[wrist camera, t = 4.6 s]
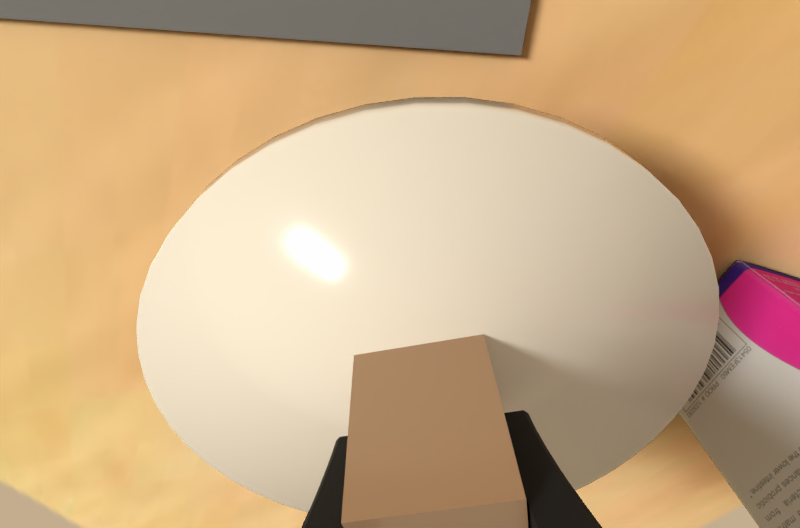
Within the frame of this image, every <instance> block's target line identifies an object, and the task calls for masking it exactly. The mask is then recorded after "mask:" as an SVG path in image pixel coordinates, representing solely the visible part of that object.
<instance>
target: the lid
mask: <svg viewBox="0 0 800 528" xmlns="http://www.w3.org/2000/svg"><path fill="white" fill-rule="evenodd" d="M718 321H719V286H718V282H717V277H716V272H715V268H714V263H713V259H712V256H711V254H710V252H709V249H708V247H707V245H706V243H705V240H704V238H703V236H702V234H701V231H700V229H699V227H698V226H697V225H696V223H695V222H694V220H693V219H692V218H691V216H690V215H689V213H688V212H687V211H686V209H685V208H684V206H683V205H682V204H681V202H680V201H679V199H678V198H676V197H675V196H674V195H673V194H672V193H671V192H670V191H669V190H668V189H667V188H666V187H665V186H664V185H663V184H662V183H661V182H660V181H659V180H658V179H656V178H655V177H654V176H653V175H652V174H651V173H650V172H649V171H648V170H647V169H645V168H644V167H643V166H642V165H641V164H639V163H638V162H637V161H636V160H635V159H633V158H632V157H631V156H629V155H628V154H626V153H625V152H623V151H622V150H620V149H619V148H617V147H616V146H614V145H613V144H611V143H610V142H608V141H607V140H605V139H604V138H602V137H601V136H599V135H598V134H596V133H593V132H591V131H589V130H587V129H585V128H582V127H580V126H578V125H576V124H574V123H571V122H569V121H567V120H565V119H562V118H560V117H558V116H555V115H551V114H548V113H544V112H540V111H537V110H533V109H530V108H526V107H523V106H519V105H516V104H511V103H503V102H496V101H488V100H481V99H473V98H466V97H424V98H408V99H401V100H393V101H386V102H379V103H372V104H365V105H361V106H358V107H354V108H351V109H347V110H344V111H340V112H336V113H333V114H329V115H326V116H322V117H319V118H316V119H314V120H312V121H309V122H307V123H305V124H302V125H300V126H298V127H296V128H293V129H291V130H289V131H286V132H284V133H282V134H280V135H277V136H275V137H273V138H272V139H270V140H269V141H267V142H265V143H264V144H262V145H261V146H259V147H257V148H256V149H254V150H253V151H251V152H249V153H248V154H246V155H245V156H243V157H241V158H240V159H238V160H237V161H236V162H234V163H233V164H232V165H231V166H230V167H229V168H228V169H226V170H225V171H224V172H223V173H222V174H221V175H219V176H218V177H217V178H216V179H215V180H214V181H212V182H211V183H210V184H209V185H208V186H207V187H206V188H205V189H204V190H203V192H202V193H201V194H200V195H199V196H198V198H197V199H196V200H195V201H194V202H193V204H192V205H191V206H190V207H189V208H188V210H187V211H186V212H185V213H184V214H183V216H182V217H181V218H180V220H179V221H178V222H177V223H176V225H175V226H174V227H173V229H172V230H171V231H170V233H169V234H168V236H167V237H166V239H165V241H164V243H163V244H162V246H161V248H160V250H159V251H158V253H157V255H156V257H155V259H154V260H153V262H152V264H151V266H150V269H149V272H148V275H147V278H146V281H145V284H144V287H143V289H142V292H141V295H140V302H139V310H138V317H137V325H136V328H137V343H138V355H139V359H140V363H141V367H142V371H143V375H144V378H145V382H146V384H147V386H148V388H149V391H150V393H151V395H152V397H153V399H154V401H155V404H156V406H157V407H158V409H159V410H160V412H161V413H162V415H163V416H164V418H165V419H166V421H167V422H168V424H169V425H170V427H171V428H172V429H173V430H174V431H175V432H176V434H177V435H178V436H179V437H180V438H181V439H182V440H183V441H184V443H185V444H186V445H187V446H188V447H189V448H190V449H191V450H192V451H194V452H195V453H196V454H197V455H198V456H199V457H201V458H202V459H203V460H204V461H205V462H206V463H207V464H209V465H210V466H212V467H213V468H214V469H216V470H217V471H219V472H220V473H222V474H223V475H225V476H226V477H227V478H229V479H231V480H232V481H234V482H236V483H238V484H240V485H241V486H243V487H245V488H247V489H249V490H250V491H252V492H254V493H257V494H259V495H261V496H264V497H266V498H268V499H270V500H273V501H275V502H277V503H280V504H283V505H286V506H289V507H292V508H295V509H298V510H301V511H304V512H309V510H310V507H311V505H312V503H313V500H314V498H315V496H316V493H317V491H318V488H319V486H320V483H321V481H322V478H323V476H324V473H325V471H326V468H327V465H328V463H329V460H330V457H331V454H332V452H333V449H334V446H335V443H336V440H337V439H338V438H339V437H342V436H348V439H347V452H346V465H345V478H344V491H343V504H342V518H341V524H342V526H343V528H528V515H527V502H526V496H525V492H524V488H523V484H522V481H521V477H520V473H519V469H518V465H517V461H516V457H515V453H514V449H513V446H512V442H511V438H510V434H509V430H508V426H507V422H506V418H505V415H504V413H507V412H514V411H521V410H524V411H526V412H527V413H529V416H530V418H531V420H532V422H533V424H534V426H535V428H536V430H537V432H538V433H539V435H540V437H541V439H542V440H543V442H544V444H545V445H546V447H547V449H548V450H549V452H550V454H551V455H552V457H553V458H554V460H555V462H556V463H557V465H558V466H559V468H560V469H561V471H562V472H563V474H564V475H565V477H566V478H567V480H568V481H569V483H570V484H571V485H572V487H573V488H574V490H577V489H579V488H581V487H584V486H586V485H588V484H590V483H592V482H593V481H595V480H597V479H599V478H600V477H602V476H604V475H606V474H607V473H609V472H611V471H613V470H614V469H616V468H617V467H618V466H620V465H621V464H623V463H624V462H626V461H627V460H628V459H630V458H631V457H633V456H634V455H636V454H637V453H638V452H639V451H640V450H642V449H643V448H644V447H645V446H646V445H647V444H649V443H650V442H651V441H652V440H653V439H654V438H656V437H657V436H658V435H659V434H660V433H661V432H662V430H663V429H664V428H665V427H666V426H667V425H668V424H669V423H670V422H671V421H672V420H673V419H674V418H675V417H676V415H677V414H678V413H679V411H680V410H681V409H682V407H683V406H684V405H685V403H686V402H687V401H688V399H689V398H690V396H691V395H692V393H693V392H694V390H695V388H696V386H697V384H698V382H699V381H700V379H701V377H702V375H703V373H704V371H705V369H706V366H707V364H708V361H709V358H710V355H711V353H712V350H713V347H714V344H715V338H716V333H717V327H718Z"/></svg>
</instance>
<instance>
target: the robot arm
mask: <svg viewBox="0 0 800 528" xmlns="http://www.w3.org/2000/svg"><path fill="white" fill-rule="evenodd" d="M504 415H505V418H506V422H507V426H508V430H509V434H510V438H511V442H512V446H513V449H514V453H515V457H516V461H517V465H518V469H519V473H520V477H521V481H522V484H523V488H524V492H525V496H526V502H527V515H528V528H602V527H601V525H600V524H599V523H598V522H597V520H596V519H595V518H594V516H593V515H592V513H591V512H590V511H589V509H588V508H587V507H586V505H585V504H584V503H583V501H582V500H581V498H580V497H579V495H578V494H577V493H576V491H575V490H574V488H573V487H572V485H571V484H570V483H569V481H568V480H567V478H566V477H565V475H564V474H563V472H562V471H561V469H560V468H559V466H558V465H557V463H556V462H555V460H554V458H553V457H552V455H551V454H550V452H549V450H548V449H547V447H546V445H545V444H544V442H543V440H542V439H541V437H540V435H539V433H538V432H537V430H536V428H535V426H534V424H533V422H532V420H531V418H530V416H529V413H527V412H526V411H524V410H521V411H514V412H507V413H504ZM347 439H348V436H342V437H339V438H338V439H337V440H336V443H335V446H334V449H333V452H332V454H331V457H330V460H329V463H328V465H327V468H326V471H325V473H324V476H323V478H322V481H321V483H320V486H319V488H318V491H317V493H316V496H315V498H314V500H313V503H312V505H311V507H310V510H309V512H308V514H307V516H306V519H305V521H304V523H303V525H302V528H343V526H342V524H341V518H342V504H343V491H344V478H345V465H346V452H347Z"/></svg>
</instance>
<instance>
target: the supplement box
mask: <svg viewBox="0 0 800 528" xmlns="http://www.w3.org/2000/svg"><path fill="white" fill-rule="evenodd" d="M718 286H719V321H718V327H717V333H716V338H715V344H714V347H713V350H712V353H711V355H710V358H709V361H708V364H707V366H706V369H705V371H704V373H703V375H702V377H701V379H700V381H699V382H698V384H697V386H696V388H695V390H694V392H693V393H692V395H691V396H690V398H689V399H688V401H687V402H686V403H685V405H684V406H683V407H682V409H681V410H680V411H679V414H680V415H681V417H682V418H683V420H684V421H685V422H686V424H687V425H688V427H689V428H690V430H691V431H692V433H693V434H694V435H695V437H696V438H697V440H698V441H699V443H700V444H701V445H702V447H703V448H704V450H705V451H706V452H707V454H708V455H709V457H710V458H711V459H712V461H713V462H714V464H715V465H716V467H717V468H718V469H719V471H720V472H721V474H722V475H723V477H724V478H725V479H726V481H727V482H728V484H729V485H730V486H731V488H732V489H733V491H734V492H735V494H736V495H737V497H738V498H739V499H740V501H741V502H742V503H743V505H744V506H745V508H746V509H747V511H748V512H749V513H750V515H751V516H752V518H753V519H754V520H755V522H756V523H757V525H758V526H759V528H800V279H798V278H794V277H791V276H788V275H785V274H782V273H779V272H776V271H772V270H769V269H766V268H763V267H759V266H756V265H753V264H749V263H745V262H741V261H736V262H735V263H734V264H733V265H732V266H731V267H730V268H729V269H728V270H727V272H726V273H725V274H724V275H723V277H722V278H721V279H720V280H719V282H718Z"/></svg>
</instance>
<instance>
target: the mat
mask: <svg viewBox="0 0 800 528" xmlns="http://www.w3.org/2000/svg"><path fill="white" fill-rule="evenodd" d="M530 5H531V0H0V18H4V19H18V20H32V21H46V22H60V23H74V24H88V25H102V26H116V27H130V28H144V29H158V30H172V31H186V32H200V33H214V34H228V35H242V36H256V37H270V38H284V39H298V40H312V41H326V42H340V43H354V44H368V45H382V46H396V47H410V48H424V49H438V50H452V51H466V52H479V53H493V54H507V55H521V52H522V47H523V42H524V36H525V31H526V26H527V20H528V15H529V10H530Z"/></svg>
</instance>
